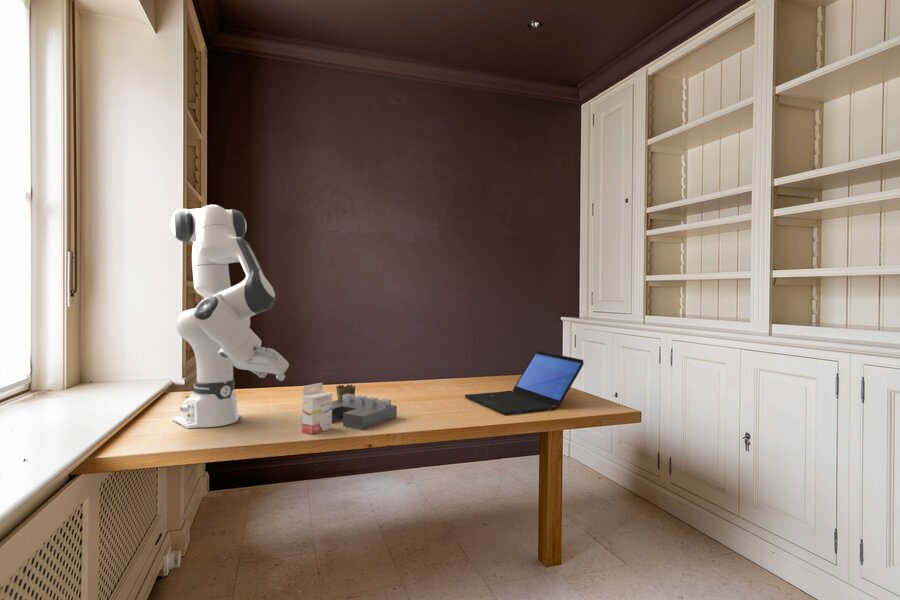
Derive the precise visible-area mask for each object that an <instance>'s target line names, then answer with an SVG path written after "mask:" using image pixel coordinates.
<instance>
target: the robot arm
mask: <svg viewBox="0 0 900 600" xmlns="http://www.w3.org/2000/svg"><path fill="white" fill-rule="evenodd" d="M170 228H171V231H172V233H173V235H174V238H176V239H177V240H178V241H181V242H185V243H189V242H192V249H191V250H192V251H191V268H192V270H191V271H192V278H193V289H194V291H195V292H196V293H197V294H198V295H200V296H201V297H202V298H203V299H202V300H200V302H199V303H198V304H197V305H196V306H195V307H194V308H190V309H187V310H183V311H182V312H181V313H180V314H179V315H178V317H177V320H176V330H177V332H178V334H179V336H180V337H181V338H182V339H184V340H185V341H186V342H187V343H188V344H189V345H190V347H191V348H192V351H193V353H194V356H195V363H196V364H195V365H196V381H195V382H193V384H192V387H193V390H192V393H191V394H190V395H188V397H187V398H186V399H185V400H183V401H182V402H181V404H180V405H181V406H179V407H180V409H179V410H180V414H179V415H175V416H174V417H172V421H173V420H174V421H175V423H176V422H177V423H176V424H178V423H179V424H178V425H180V424H181V425H180V426H182V427H184V428H187V429H196V428H197V429H198V428H215V427H216V428H217V427H222V426H226V425H231V424H234V423H236V422H237V421H239V418H241V413H240V412H239V410H238V400H237V394H236V393H235V384H236V383H235V379H234V368H236V369H237V370H238V369H239V370H244V371H250V372H251V373H253V374H255V375H257V376H258V377H259V378H261V379H265V378H266V376H267V375H268V374H273V375H275V379H277V381H280V382H283V381H284V380H285V378H286V375H285V372H286V371H287V370H288V368H289V366H290V364H289V362H288V360H287V359H285V357H284V356H282V354H280V353H279V352H278V351H277V350H275V349H273V348H270V347H262V340H261V338H259V336H258V335H257V334H256V333H255V332H254V331H253V330H252V329H251V318H252V317H253V316H255V315H257V314H260V313H263V312H265V311H268V310H270V309H272V308H273V306H274V303H275V300H276V292H275V290H274V287H273V286H272V284H271V283H270V281H269V280H268V278H267V276H266V275H265V272H264V271H263V268H262V266H261V264H260V262H259V260H258V258H257V256H256V254H255V251H254V249H253V248H252V246H251V245H250V243H248V242H247V240H245V239H244V237H245V235H246V233H247V220H246V218H245V216H244V214H243V212H241V211H239V210H237V209H232V208H230V209H225V208H224V207H222V206H220V205H217V204H209V205H205V206H203V207H201V208H191V209H188V208H181V209H177V210H175V211H174V212H173V214H172V217H171V220H170ZM234 263H240V265H241V267H242V270H243V272H244V274H245V277H244V278H243V280H241V281H240V282H238V283H236V284H235V285H232V284H231V278H230V269H229V264H234ZM231 285H232V286H231ZM174 421H173V422H174Z"/></svg>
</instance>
